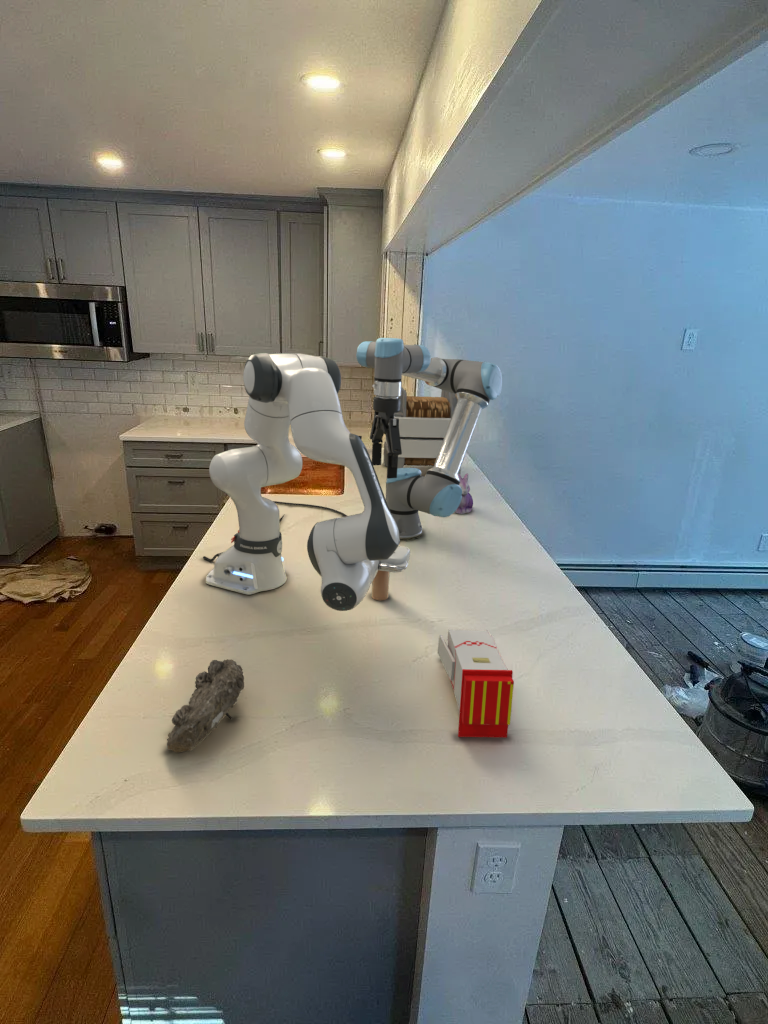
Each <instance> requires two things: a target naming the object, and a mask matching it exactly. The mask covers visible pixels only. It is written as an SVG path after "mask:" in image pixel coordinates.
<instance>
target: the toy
mask: <svg viewBox="0 0 768 1024" xmlns="http://www.w3.org/2000/svg"><path fill="white" fill-rule="evenodd" d="M446 640H447V643H446V641H445V639H444V636H443V635H442V634H439V637H438V646H437V656H438V657H439V659H440V661H441V663H442V666H443V668H444V670H445V672H446V674H447V677H448V679H449V681H450V684H451V687H452V690H453V693H454V697H455V701H456V705H457V708H458V711H459V714H458V715H459V716H458V730H457V731H458V732H457V737H458V738H508V731H509V726H510V725H511V717H512V707H513V697H514V696H513V695H514V684H515V680H514V679H513V673H514V671H513V670H512V669H508V667H507V665H506V662H505V661H504V659H503V658H502V655H501V653H500V651H499V649H498V647H497V643H496V639H495V637H494V635H493V634H491V632H490V631H489V629H467V628H466V629H465V628H463V629H461V628H460V629H459V628H448V630H447V639H446Z"/></svg>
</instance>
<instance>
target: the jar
mask: <svg viewBox="0 0 768 1024" xmlns="http://www.w3.org/2000/svg"><path fill="white" fill-rule="evenodd" d="M390 573H391V572H388V571H380V570H378V572H377V574H376V576H375V578H374V580H373V582H372V583H371V596H370V597H371V598H372V599H373V600H375V601H386V600H388V599H389V593H390V591H389V590H390Z"/></svg>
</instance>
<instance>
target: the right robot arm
mask: <svg viewBox="0 0 768 1024" xmlns="http://www.w3.org/2000/svg"><path fill="white" fill-rule="evenodd" d="M356 361H357V363H358V364H359V365H360V366H361V367H364V368H368V369H374V378H373V384H372V385H371V386H372V387H371V388H372V389H373V395H374V397H373V398H372V399H373V400H372V410H373V411H374V413H373V420H372V425H371V430H370V434H369V440H371V443H372V444H371V445H372V447H371V461H372V464H373V466H374V467H375V466H382V453H383V452H382V451H383V450H382V449H383V444H384V442H383V437H384V435H385V438H386V440H387V445H388V450H389V453H388V454H387V456H388V462H387V466H386V480H385V481H386V482H385V499H386V502H387V505H388V507H389V509H390V512H391V514H392V516H393V518H394V520H395V522H396V525H397V527H398V530H399V538H400V541H410V540H415V539H418V538H420V537H421V536H422V535H423V525H422V523H421V518H420V515H419V512H422V513H425V514H428V515H431V516H433V517H439V518H449V517H450V516H452V515H453V514H454V513H455V511H456V510H457V508H458V507H459V505H460V502H461V499H462V489H461V487H460V486H459V484H460V480H459V478H458V473H459V471H460V468H461V469H462V465H463V462H464V458H465V457H466V454H467V451H468V449H469V445H470V443H471V440H472V438H473V435H474V432H475V429H476V426H477V424H478V421H479V418H480V416H481V413H482V410H483V409H486V408H488V406H489V404H490V401H494V400H496V399H498V397H500V394H501V392H502V387H503V376H502V375H503V374H502V371H501V369H500V367H499V366H498V365H497V364H496V363H493V362H488V361H479V360H468V359H458V358H441V357H436V356H434V357H432V356H431V352H430V350H429V348H427V346H425V345H422V344H421V345H420V344H404V340H403V339H402V338H397V337H379V338H377V339H376V340H375V341H373V340H370V341H369V340H368V341H367V340H366V341H362V342H361V343H360V344H358V346H357V348H356ZM403 376H404V377H407V378H412V379H415V380H418V381H423V382H424V383H425V384H426V385H427V386H429V387H433V388H436V389H439V390H441V391H442V390H444V391H447V392H450V393H454V394H455V397H456V399H457V404H456V407H455V409H454V412H453V415H452V418H451V420H450V423H449V426H448V428H447V431H446V434H445V437H444V439H443V442H442V445H441V448H440V450H439V453H438V456H437V458H436V461H435V464H434V466H432V467H431V468H429V469H427V470H426V473H425V475H422V470H421V469H420V468H416V467H404V468H398V469H397V466H398V455H401V454H402V450H401V442H400V433H399V419H398V418H394V413H395V412H399V411H400V402H401V399H400V398H399V396H401V387H402V384H403V382H402V379H403ZM402 388H403V387H402ZM272 501H273V502H275V503H276V505H277V504H279V505H287V506H299V507H308V508H309V507H310V508H317V509H323V510H327V511H331V512H334V513H337V514H339V515H341V516H342V517H346V516H348V515H347V514H345V513H343V512H342V511H339V510H338V509H337V510H336V509H334V508H330V507H326V506H322V505H316V504H307V503H297V502H296V503H295V502H287V501H285V502H284V501H276V500H272Z"/></svg>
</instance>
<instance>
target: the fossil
mask: <svg viewBox="0 0 768 1024" xmlns="http://www.w3.org/2000/svg"><path fill="white" fill-rule="evenodd" d="M243 670H244V669H243V667H242V665H240V664H237V662H236V661H235V660H234V659H232V658H231V659H227V658H226V659H224V660H223V661H222V660H217V659H212V660H211V661H210V663H209V665H208V666H207V671H201V672H199V673H198V674H197V675H196V676H195V680H194V684H195V685H194V687H195V689H194V690H193V693H192V694H191V697H190V698H189V700H188V704H184V705H182V706H181V707H180V709H177V710H176V711H175V713H174V715H173V716H172V718H171V723H172V724H173V727H172V730H171V731H170V732H168V734H167V738H166V741H167V742H166V745H167V749H168V750H169V751H173V752H174V753H176V754H178V753H182V752H188V751H189V752H192V751H193V750H195V748H196V747H197V746H199V744H200V743H201V742H203V741H204V740H205V739H206V738H207V737H208V736H209V735H210V734H211V733H212V732H214V730H215V729H217V727H218V726H219V724H220V722H221V721H222V720H223V719H224V718H225V716H226V717H227V719H229V720H233V717H232V715H230V714H229V710H230V709H231V708H234V706H235V704H236V703H237V702H238V699H239V697H240V695H241V693H242V691H243V690H245V689H244V688H245V675H244V671H243Z"/></svg>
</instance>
